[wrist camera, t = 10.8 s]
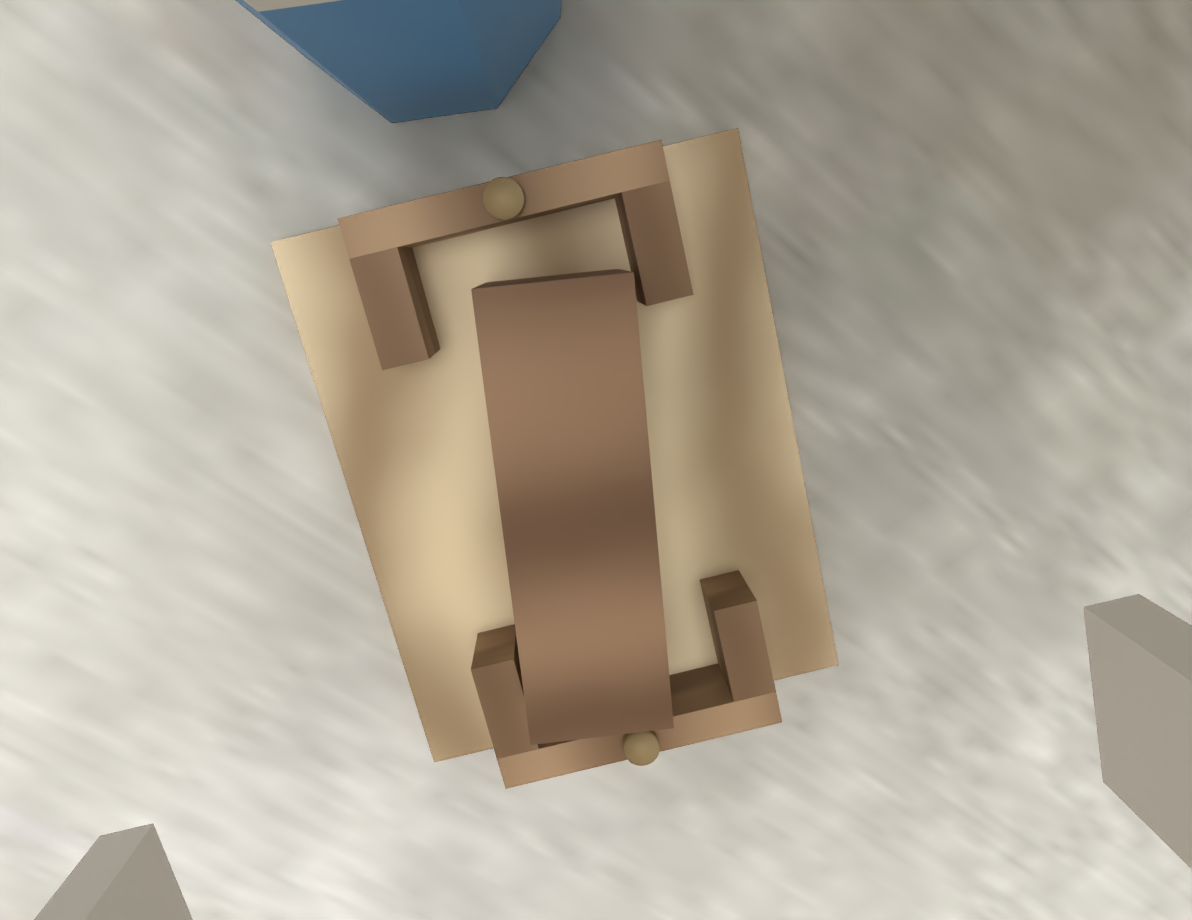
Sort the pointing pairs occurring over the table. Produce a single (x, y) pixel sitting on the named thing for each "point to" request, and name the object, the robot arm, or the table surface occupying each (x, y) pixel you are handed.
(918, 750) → the table surface
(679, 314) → the cleat board
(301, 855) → the table surface
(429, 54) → the water bottle
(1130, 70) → the table surface
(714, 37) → the table surface
